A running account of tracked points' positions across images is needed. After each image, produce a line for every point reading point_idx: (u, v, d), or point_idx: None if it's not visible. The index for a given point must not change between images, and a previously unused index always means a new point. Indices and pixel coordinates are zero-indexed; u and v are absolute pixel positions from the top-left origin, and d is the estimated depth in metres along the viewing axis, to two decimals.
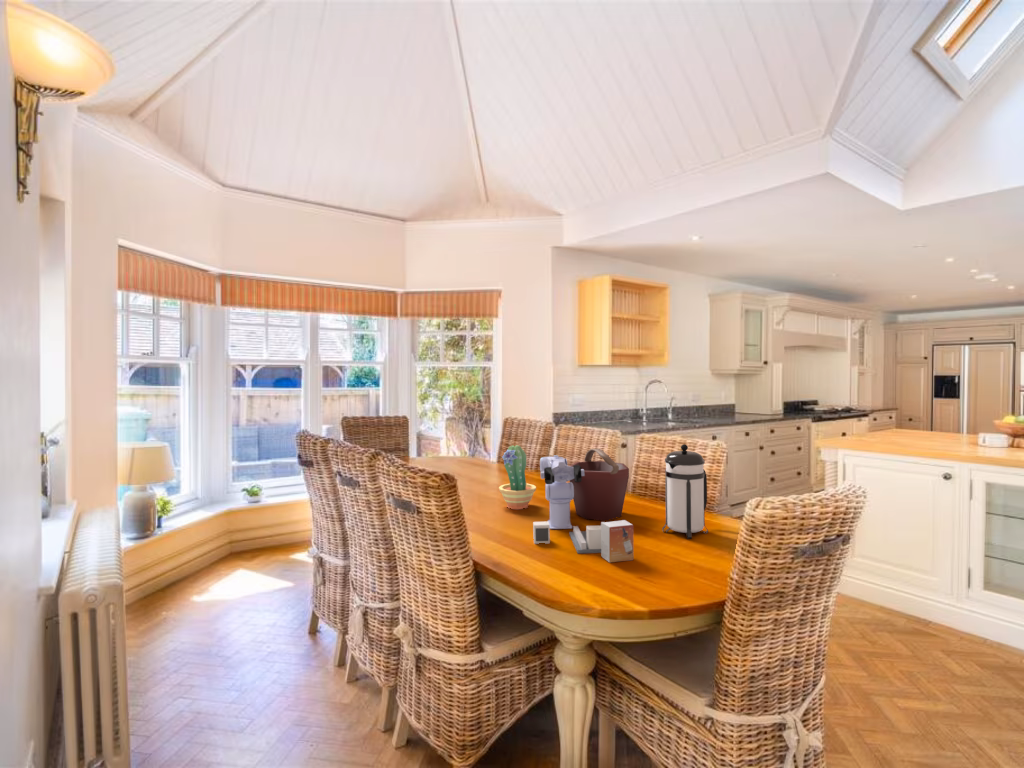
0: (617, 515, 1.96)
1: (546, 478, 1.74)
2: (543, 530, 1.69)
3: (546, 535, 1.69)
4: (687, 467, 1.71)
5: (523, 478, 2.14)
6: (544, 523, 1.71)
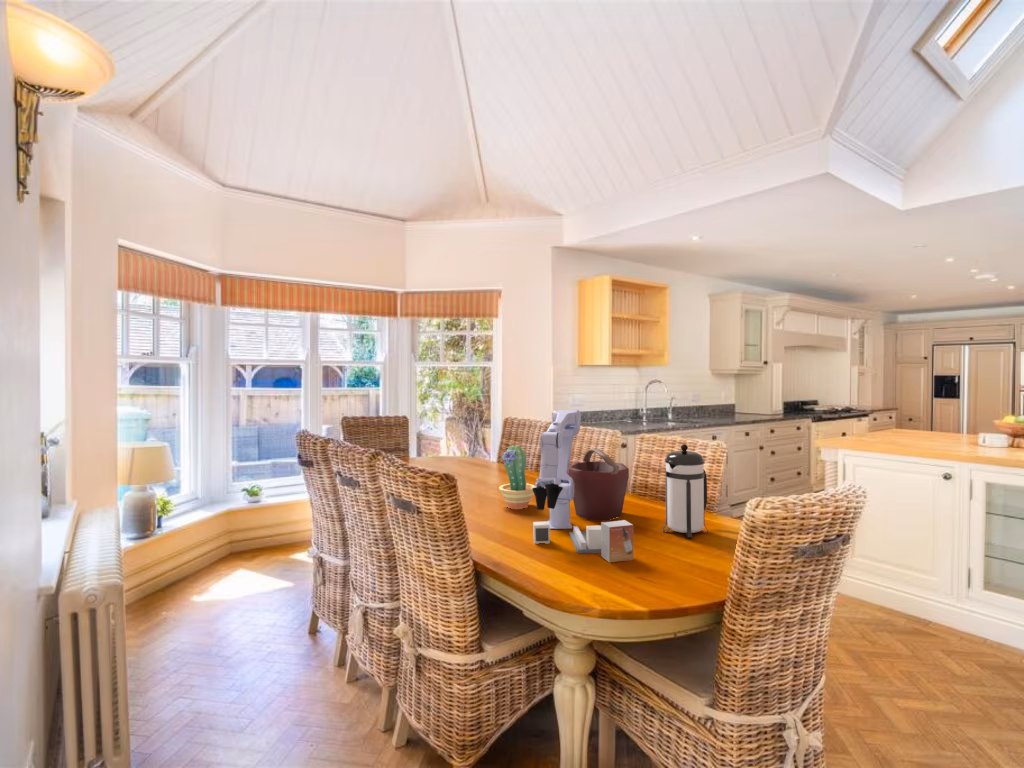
0: (617, 515, 1.96)
1: None
2: (543, 530, 1.69)
3: (546, 535, 1.69)
4: (687, 467, 1.71)
5: (523, 478, 2.14)
6: (544, 523, 1.71)
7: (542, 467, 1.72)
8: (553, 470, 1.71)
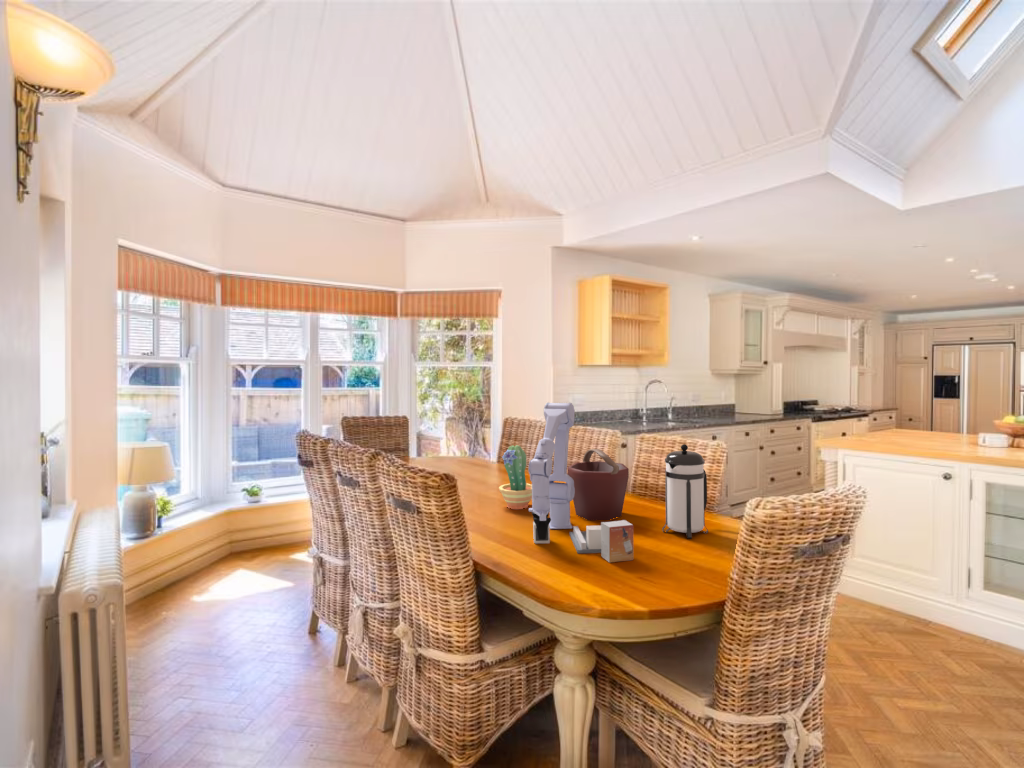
0: (617, 515, 1.96)
1: None
2: None
3: (546, 535, 1.69)
4: (687, 467, 1.71)
5: (523, 478, 2.14)
6: None
7: (532, 497, 1.70)
8: (542, 501, 1.69)
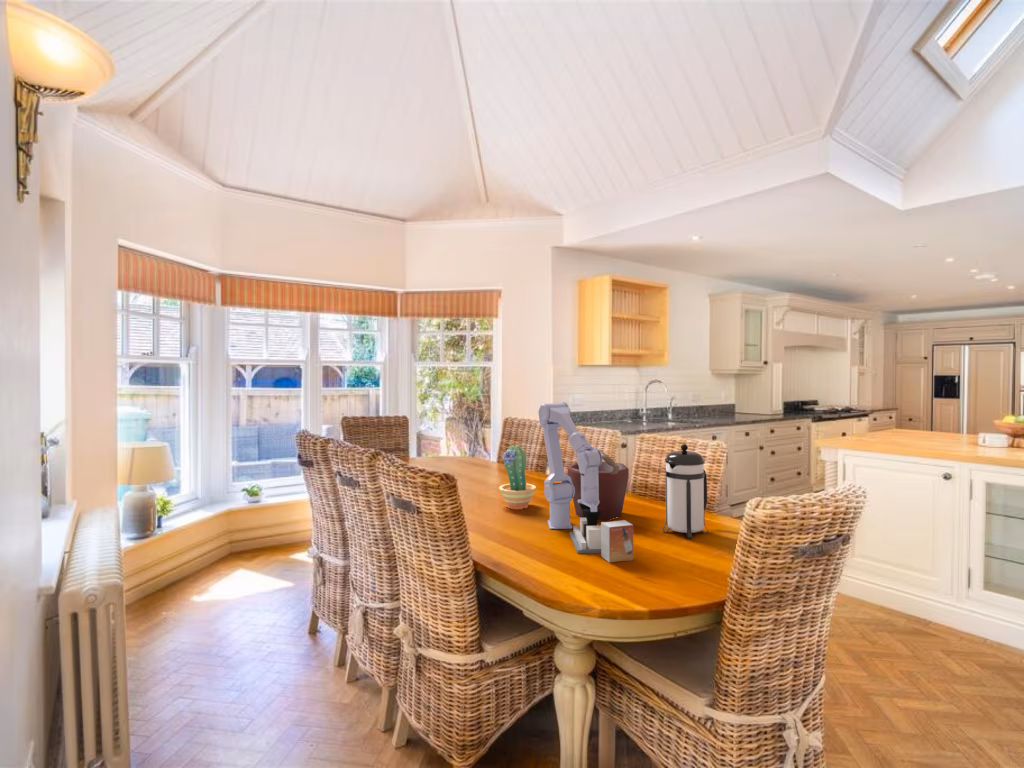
0: (617, 515, 1.96)
1: None
2: None
3: None
4: (687, 467, 1.71)
5: (523, 478, 2.14)
6: None
7: (581, 489, 1.70)
8: (592, 492, 1.68)
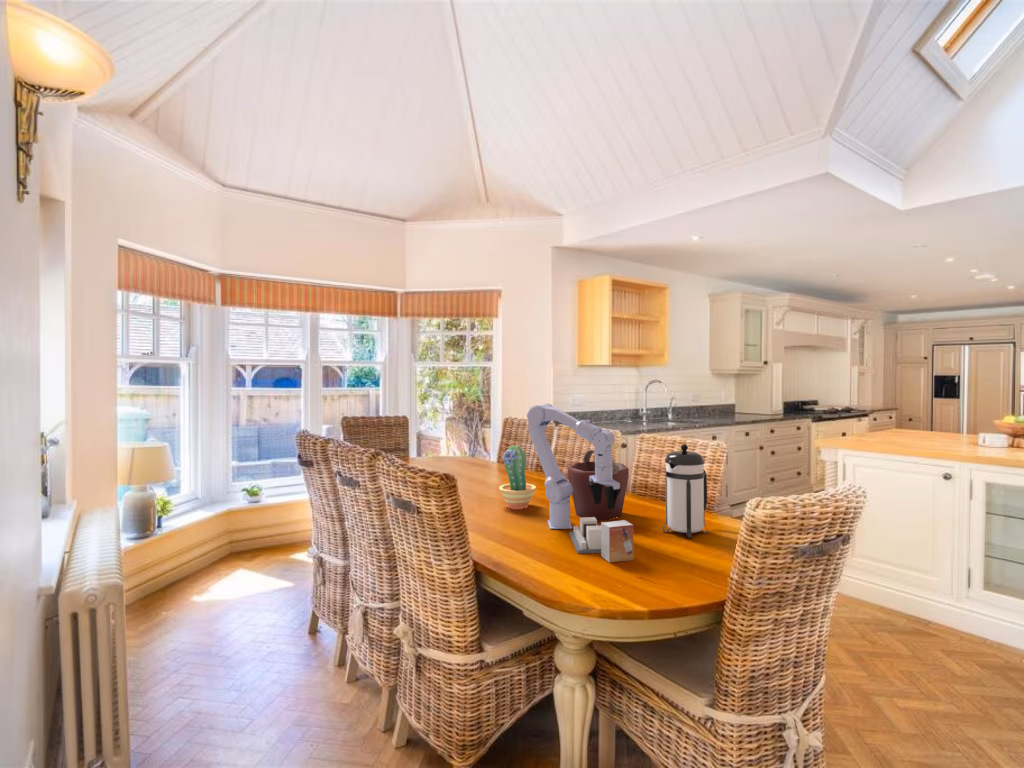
0: (617, 515, 1.96)
1: None
2: None
3: None
4: (687, 467, 1.71)
5: (523, 478, 2.14)
6: (591, 519, 1.72)
7: (598, 469, 1.76)
8: (609, 471, 1.75)
